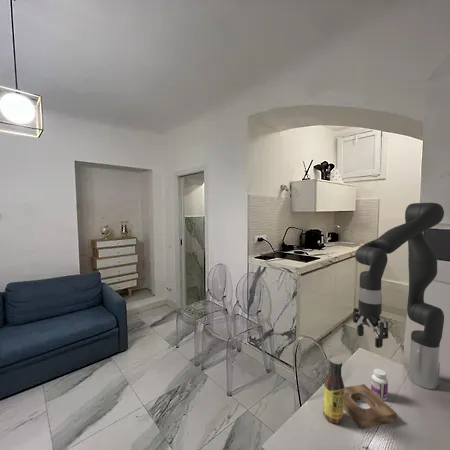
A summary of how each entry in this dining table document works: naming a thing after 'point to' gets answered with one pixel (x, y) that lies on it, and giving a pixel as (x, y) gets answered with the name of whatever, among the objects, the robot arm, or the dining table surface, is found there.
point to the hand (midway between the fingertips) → (369, 341)
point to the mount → (370, 416)
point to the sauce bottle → (333, 392)
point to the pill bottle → (379, 384)
